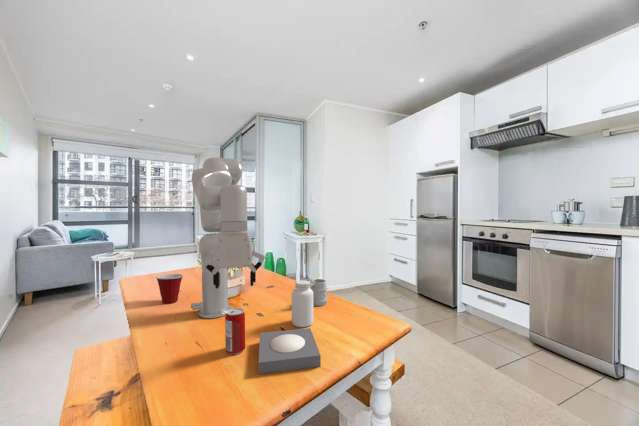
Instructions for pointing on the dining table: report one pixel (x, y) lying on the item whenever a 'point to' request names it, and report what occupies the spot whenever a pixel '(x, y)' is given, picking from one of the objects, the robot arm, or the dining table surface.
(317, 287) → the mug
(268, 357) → the base
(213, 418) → the dining table surface
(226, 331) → the soda can
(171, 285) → the plastic cup
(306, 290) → the pill bottle
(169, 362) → the dining table surface
